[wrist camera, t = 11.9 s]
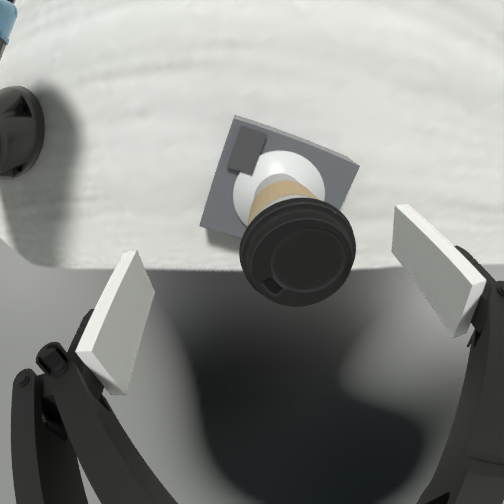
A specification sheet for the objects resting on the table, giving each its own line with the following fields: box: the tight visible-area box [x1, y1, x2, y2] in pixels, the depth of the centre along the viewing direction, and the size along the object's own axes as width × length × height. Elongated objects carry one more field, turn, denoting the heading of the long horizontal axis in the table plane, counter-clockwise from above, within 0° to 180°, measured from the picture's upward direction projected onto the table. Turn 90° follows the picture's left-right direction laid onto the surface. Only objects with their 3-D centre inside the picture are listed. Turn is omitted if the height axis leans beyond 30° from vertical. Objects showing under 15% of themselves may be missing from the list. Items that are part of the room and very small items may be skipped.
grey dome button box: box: [200, 115, 360, 238], centre depth 37 cm, size 16×14×6 cm
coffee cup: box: [239, 173, 356, 307], centre depth 29 cm, size 10×9×15 cm
